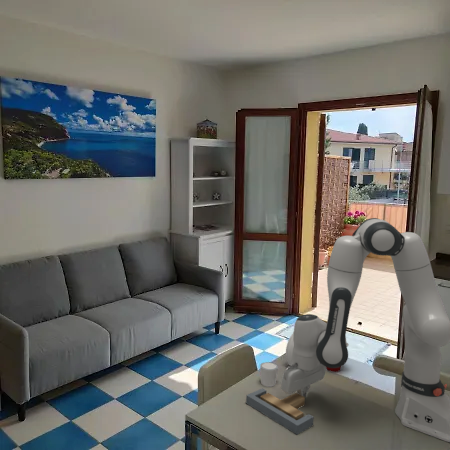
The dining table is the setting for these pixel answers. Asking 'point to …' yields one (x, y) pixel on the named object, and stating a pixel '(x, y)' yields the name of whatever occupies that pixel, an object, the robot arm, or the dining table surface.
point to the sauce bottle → (289, 350)
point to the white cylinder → (268, 374)
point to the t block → (286, 404)
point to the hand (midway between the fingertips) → (302, 397)
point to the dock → (278, 413)
